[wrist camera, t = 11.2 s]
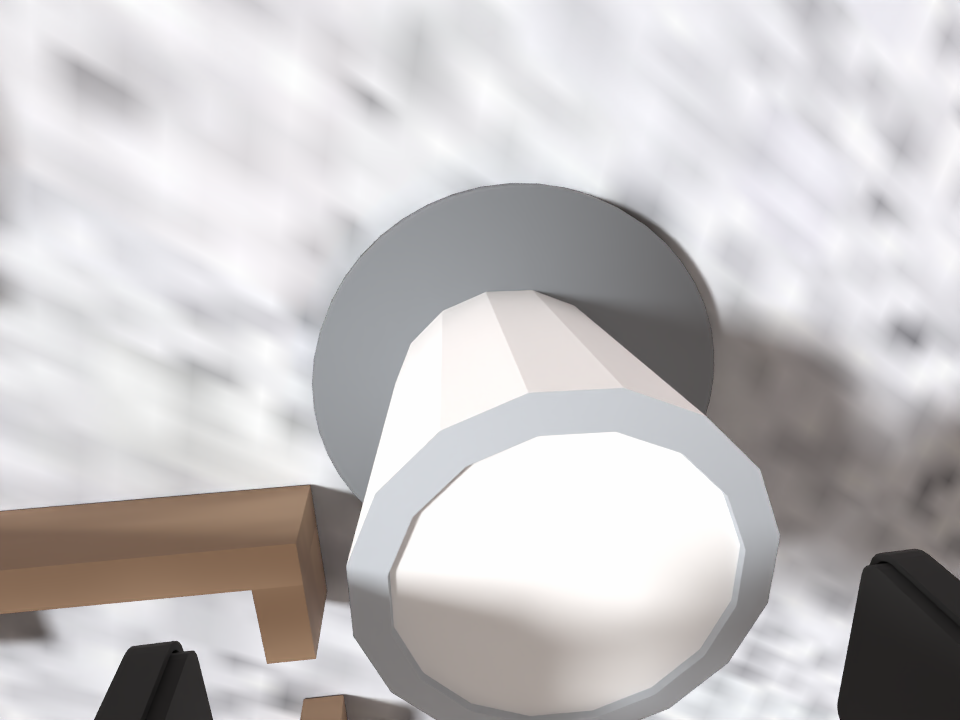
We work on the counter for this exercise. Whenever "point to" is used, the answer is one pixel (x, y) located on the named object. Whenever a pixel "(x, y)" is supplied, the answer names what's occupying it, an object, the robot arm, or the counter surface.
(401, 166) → the counter surface
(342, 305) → the coaster
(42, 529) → the pocket
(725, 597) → the white cylinder
